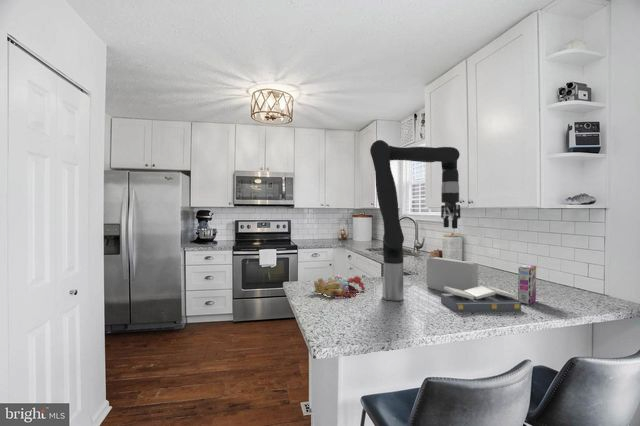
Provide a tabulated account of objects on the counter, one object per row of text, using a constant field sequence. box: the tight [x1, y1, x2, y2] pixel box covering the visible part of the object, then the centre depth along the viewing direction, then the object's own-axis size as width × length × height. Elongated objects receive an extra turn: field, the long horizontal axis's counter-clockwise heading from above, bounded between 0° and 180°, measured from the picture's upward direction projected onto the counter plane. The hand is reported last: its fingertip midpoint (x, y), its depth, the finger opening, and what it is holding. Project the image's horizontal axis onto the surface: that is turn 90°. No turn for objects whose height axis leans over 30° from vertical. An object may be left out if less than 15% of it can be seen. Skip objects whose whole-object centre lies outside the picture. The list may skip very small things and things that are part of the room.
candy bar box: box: [517, 264, 537, 306], centre depth 147 cm, size 11×5×16 cm, turn 134°
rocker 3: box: [484, 285, 518, 300], centre depth 140 cm, size 8×11×1 cm
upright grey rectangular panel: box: [426, 256, 479, 294], centre depth 166 cm, size 27×7×17 cm, turn 33°
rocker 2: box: [464, 285, 496, 299], centre depth 140 cm, size 8×11×1 cm
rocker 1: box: [444, 286, 474, 299], centre depth 139 cm, size 8×11×1 cm
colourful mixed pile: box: [313, 274, 366, 299], centre depth 164 cm, size 25×24×9 cm
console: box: [440, 293, 522, 313], centre depth 140 cm, size 28×14×5 cm, turn 92°
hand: (450, 227), depth 145 cm, fingers open, 8 cm apart
